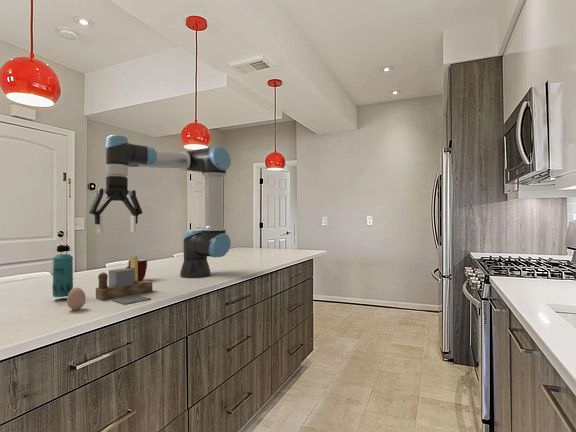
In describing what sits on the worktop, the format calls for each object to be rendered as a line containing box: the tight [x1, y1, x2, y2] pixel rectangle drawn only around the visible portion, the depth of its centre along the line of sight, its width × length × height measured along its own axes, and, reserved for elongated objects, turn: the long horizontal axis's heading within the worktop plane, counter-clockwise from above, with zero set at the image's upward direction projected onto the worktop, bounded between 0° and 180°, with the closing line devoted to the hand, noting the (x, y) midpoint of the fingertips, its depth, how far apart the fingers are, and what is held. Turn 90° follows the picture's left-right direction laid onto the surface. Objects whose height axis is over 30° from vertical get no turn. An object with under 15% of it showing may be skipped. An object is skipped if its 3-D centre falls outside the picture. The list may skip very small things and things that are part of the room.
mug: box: [125, 258, 148, 282], centre depth 168 cm, size 10×8×10 cm
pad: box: [111, 294, 151, 306], centre depth 131 cm, size 10×9×1 cm
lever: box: [129, 255, 139, 284], centre depth 143 cm, size 1×4×11 cm, turn 51°
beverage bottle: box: [52, 244, 74, 298], centre depth 133 cm, size 6×7×20 cm
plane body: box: [95, 272, 153, 301], centre depth 140 cm, size 20×5×10 cm, turn 141°
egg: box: [66, 287, 87, 311], centre depth 118 cm, size 5×5×7 cm
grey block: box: [108, 267, 134, 288], centre depth 139 cm, size 7×6×6 cm
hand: (117, 232), depth 138 cm, fingers open, 12 cm apart
